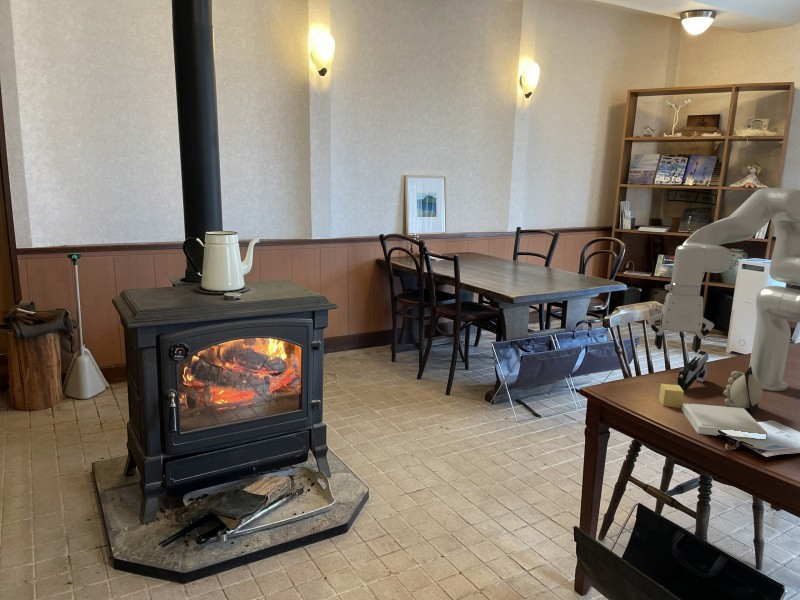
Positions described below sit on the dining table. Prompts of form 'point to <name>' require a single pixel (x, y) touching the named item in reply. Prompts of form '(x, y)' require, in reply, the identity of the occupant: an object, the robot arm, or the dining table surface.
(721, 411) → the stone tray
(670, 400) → the mustard cube
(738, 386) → the decorative object
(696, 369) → the toy gun
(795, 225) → the robot arm
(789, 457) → the dining table surface
